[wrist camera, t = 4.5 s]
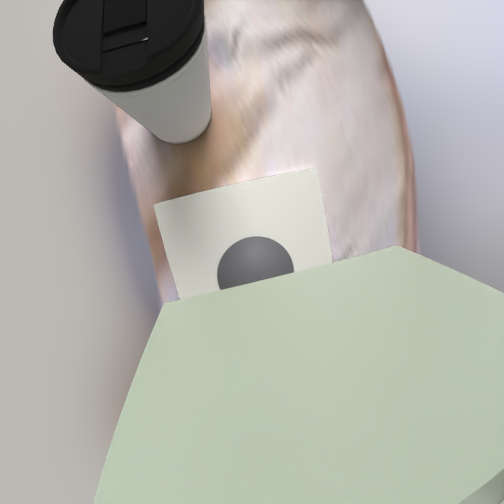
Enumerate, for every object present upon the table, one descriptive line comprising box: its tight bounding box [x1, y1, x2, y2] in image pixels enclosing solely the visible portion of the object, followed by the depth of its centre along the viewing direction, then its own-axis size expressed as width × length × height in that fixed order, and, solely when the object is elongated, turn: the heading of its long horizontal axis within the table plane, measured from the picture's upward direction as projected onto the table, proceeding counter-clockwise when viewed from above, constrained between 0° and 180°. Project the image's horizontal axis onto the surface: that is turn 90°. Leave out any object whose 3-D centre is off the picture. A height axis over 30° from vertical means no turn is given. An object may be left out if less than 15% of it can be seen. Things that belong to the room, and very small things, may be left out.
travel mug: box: [53, 0, 212, 144], centre depth 16 cm, size 6×7×20 cm
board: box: [153, 168, 333, 299], centre depth 29 cm, size 18×16×1 cm
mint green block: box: [93, 245, 504, 504], centre depth 8 cm, size 10×10×10 cm
